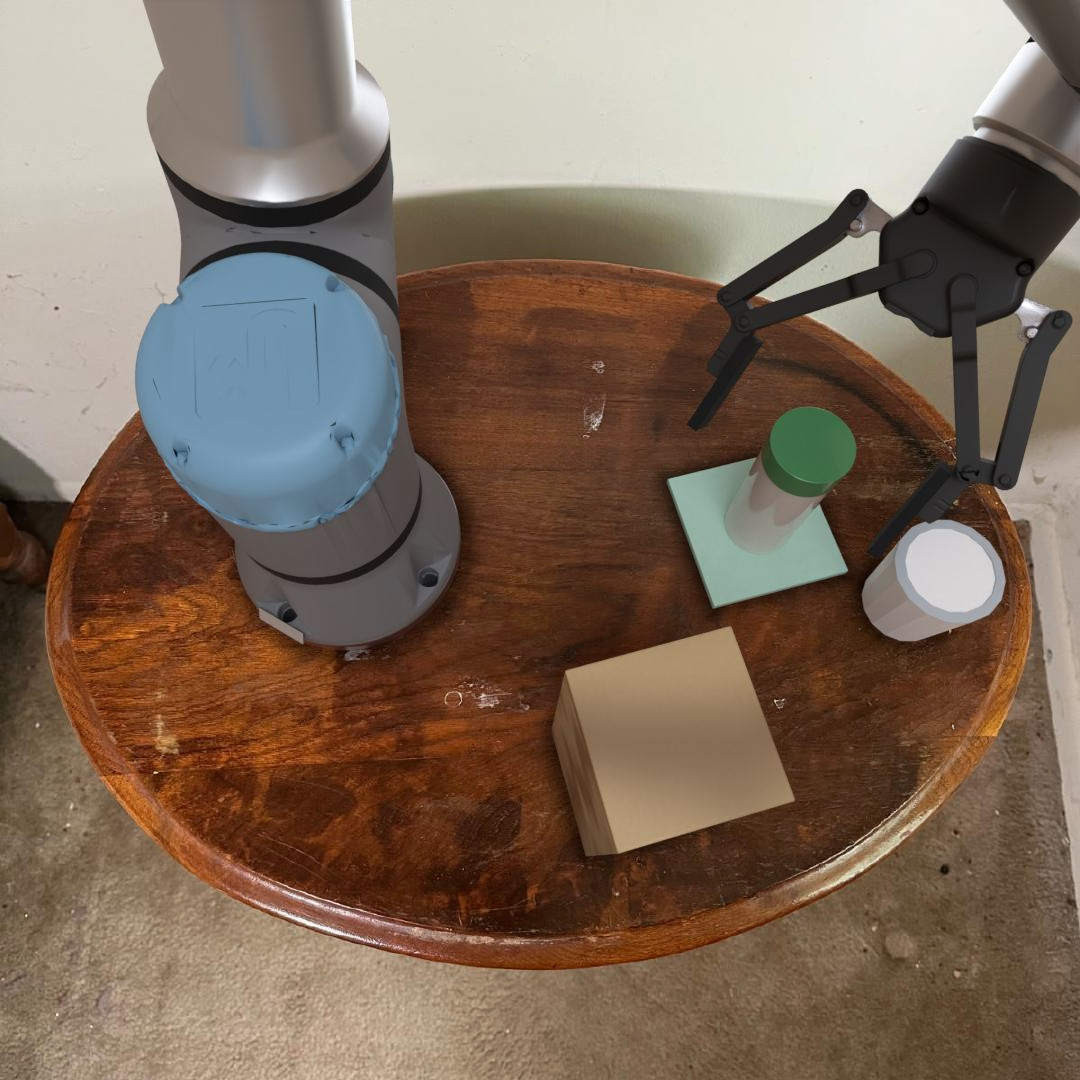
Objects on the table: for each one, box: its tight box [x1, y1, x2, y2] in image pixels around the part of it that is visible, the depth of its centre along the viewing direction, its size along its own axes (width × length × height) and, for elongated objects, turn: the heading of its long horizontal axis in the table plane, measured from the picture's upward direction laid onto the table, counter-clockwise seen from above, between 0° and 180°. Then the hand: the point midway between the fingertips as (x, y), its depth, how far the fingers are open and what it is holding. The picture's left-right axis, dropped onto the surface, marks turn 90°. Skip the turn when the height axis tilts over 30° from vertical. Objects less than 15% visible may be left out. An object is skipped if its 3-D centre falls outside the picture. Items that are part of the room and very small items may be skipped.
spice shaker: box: [725, 406, 857, 555], centre depth 53 cm, size 5×5×12 cm
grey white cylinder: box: [861, 519, 1006, 642], centre depth 54 cm, size 7×7×7 cm
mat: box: [666, 457, 849, 610], centre depth 59 cm, size 10×10×1 cm
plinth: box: [550, 626, 796, 857], centre depth 44 cm, size 8×8×18 cm
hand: (782, 486), depth 53 cm, fingers open, 13 cm apart
